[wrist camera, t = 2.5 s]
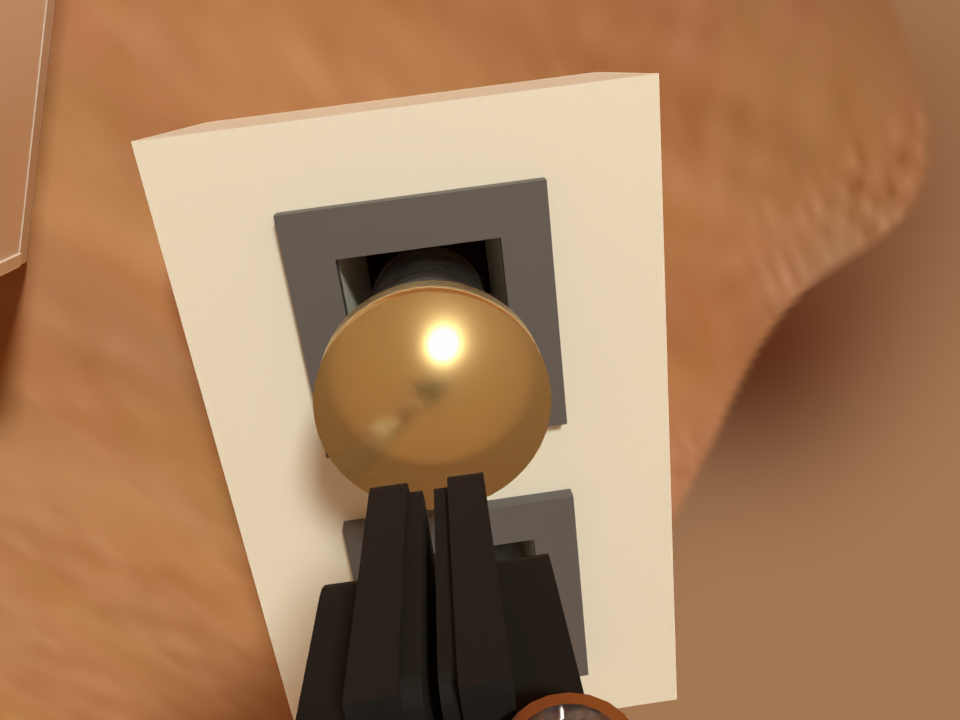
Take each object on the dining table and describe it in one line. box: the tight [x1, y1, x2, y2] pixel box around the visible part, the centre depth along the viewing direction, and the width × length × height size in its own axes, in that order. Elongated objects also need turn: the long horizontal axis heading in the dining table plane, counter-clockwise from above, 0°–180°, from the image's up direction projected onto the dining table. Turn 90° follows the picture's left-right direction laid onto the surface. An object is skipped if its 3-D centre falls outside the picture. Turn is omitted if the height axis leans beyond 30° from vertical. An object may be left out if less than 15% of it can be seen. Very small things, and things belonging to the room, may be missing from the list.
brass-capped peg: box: [313, 246, 551, 510], centre depth 20 cm, size 5×5×8 cm
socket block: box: [131, 72, 677, 720], centre depth 27 cm, size 22×14×8 cm, turn 7°
